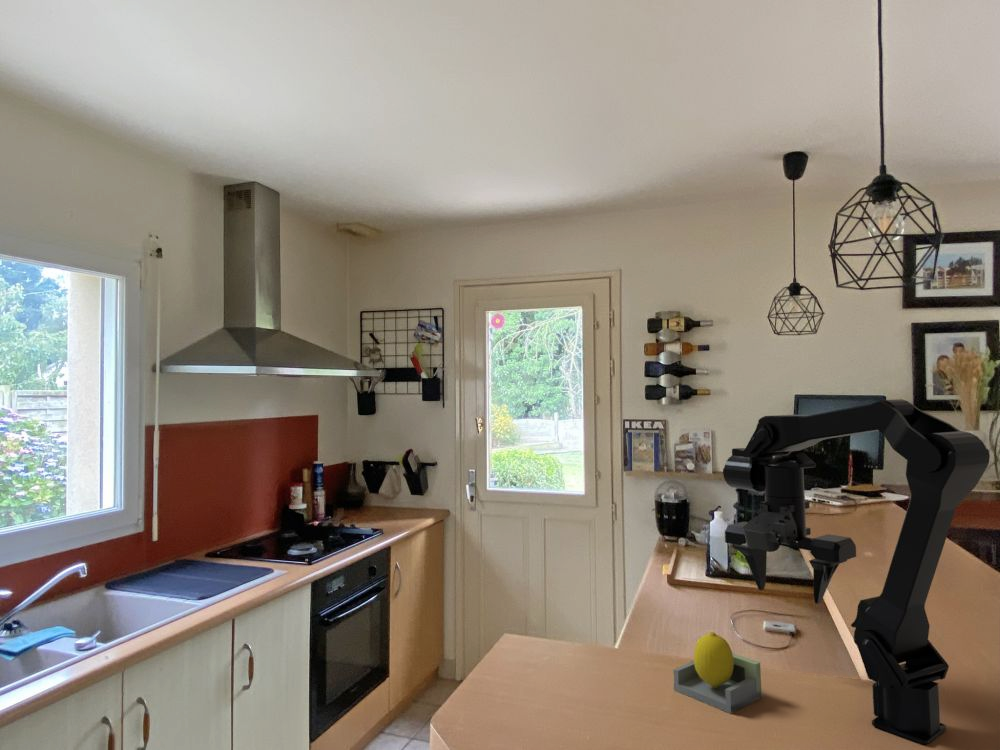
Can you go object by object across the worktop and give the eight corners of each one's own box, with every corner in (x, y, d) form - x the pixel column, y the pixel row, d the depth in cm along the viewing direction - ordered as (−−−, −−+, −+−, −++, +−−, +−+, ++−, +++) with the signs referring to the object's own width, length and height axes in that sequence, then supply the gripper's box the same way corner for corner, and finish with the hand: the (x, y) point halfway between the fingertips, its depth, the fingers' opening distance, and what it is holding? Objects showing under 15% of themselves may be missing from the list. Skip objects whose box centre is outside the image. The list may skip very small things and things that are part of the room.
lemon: (725, 678, 98) (722, 624, 99) (741, 695, 93) (738, 637, 93) (689, 681, 98) (686, 626, 98) (703, 698, 92) (700, 640, 93)
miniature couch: (761, 697, 94) (760, 662, 94) (730, 713, 90) (729, 676, 90) (705, 676, 102) (703, 643, 102) (673, 689, 97) (672, 655, 98)
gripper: (702, 494, 105) (705, 593, 105) (816, 508, 90) (821, 623, 90) (742, 487, 112) (746, 580, 111) (855, 499, 97) (860, 606, 96)
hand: (788, 596), depth 102 cm, fingers open, 9 cm apart
